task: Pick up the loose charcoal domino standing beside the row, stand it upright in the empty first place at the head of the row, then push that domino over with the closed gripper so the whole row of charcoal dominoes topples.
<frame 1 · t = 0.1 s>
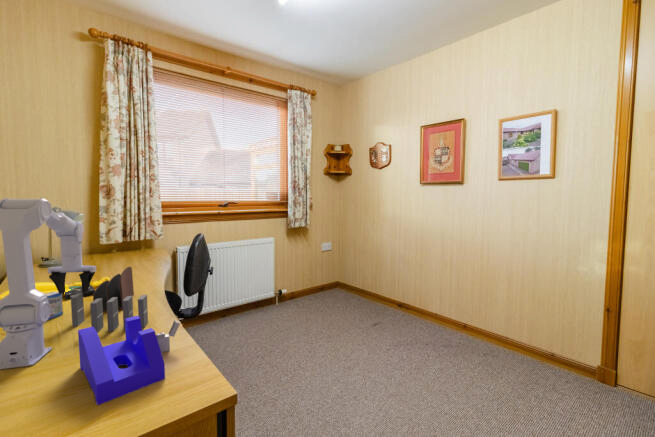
hand: (73, 292, 112), 10 cm above the table, tool pointing down, fingers open, 7 cm apart
bracket: (121, 375, 80), on the table
end domino: (143, 325, 108), on the table
medicine box: (47, 318, 114), on the table
domino 4: (128, 326, 107), on the table
domino 2: (97, 330, 104), on the table
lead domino: (78, 323, 110), on the table
domino 3: (113, 328, 106), on the table
letter holder: (115, 304, 130), on the table
lighter: (167, 350, 92), on the table
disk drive: (79, 295, 142), on the table
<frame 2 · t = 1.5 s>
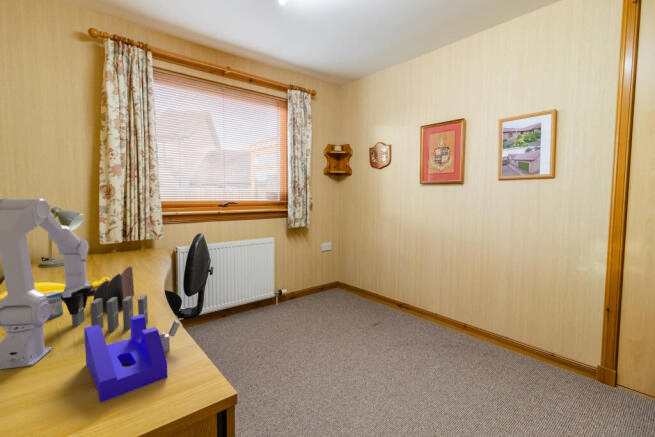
hand: (77, 311, 109), 4 cm above the table, tool pointing down, fingers closed on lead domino, 5 cm apart
bracket: (125, 372, 81), on the table
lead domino: (78, 323, 110), on the table, touching gripper
everything else where it was.
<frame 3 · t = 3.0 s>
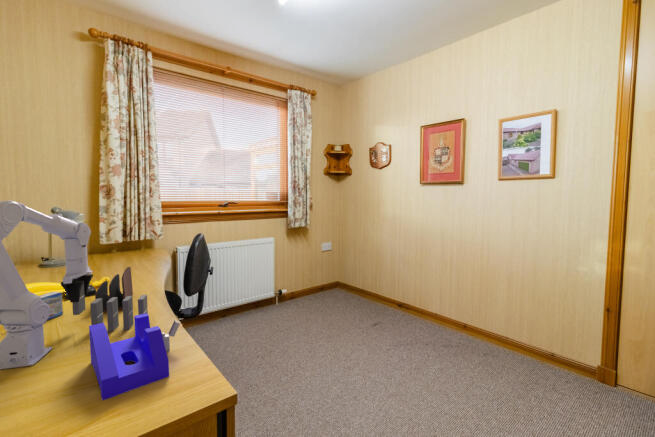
hand: (78, 299, 104), 10 cm above the table, tool pointing down, fingers closed on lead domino, 5 cm apart
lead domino: (79, 312, 104), point 6 cm above the table, touching gripper
when the fingers open (6 cm above the table, at t = 4.6 s): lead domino drops 1 cm, on the table.
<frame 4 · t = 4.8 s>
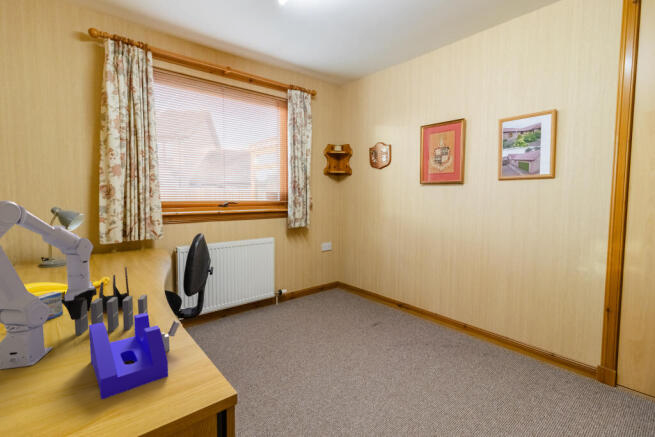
hand: (80, 315, 103), 6 cm above the table, tool pointing down, fingers open, 6 cm apart
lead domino: (82, 331, 103), on the table
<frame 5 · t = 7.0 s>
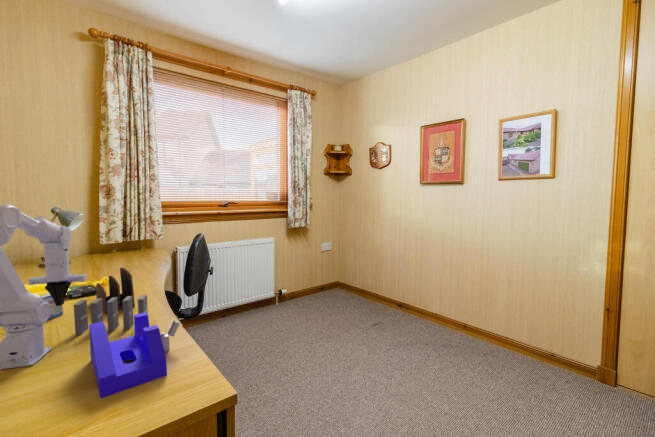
hand: (59, 304, 101), 10 cm above the table, tool pointing down, fingers closed
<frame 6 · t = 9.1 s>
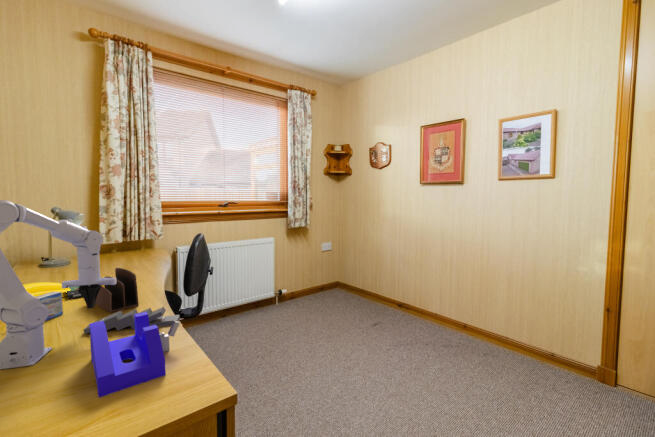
hand: (91, 307, 103), 8 cm above the table, tool pointing down, fingers closed
bracket: (127, 369, 83), on the table, touching lighter
end domino: (147, 323, 109), point 1 cm above the table, tilted 89°, touching domino 4
domino 4: (133, 324, 107), point 1 cm above the table, tilted 69°, touching domino 3, end domino
domino 2: (103, 327, 105), point 1 cm above the table, tilted 68°, touching domino 3, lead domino
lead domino: (87, 329, 104), point 1 cm above the table, tilted 69°, touching domino 2
domino 3: (119, 325, 106), point 1 cm above the table, tilted 68°, touching domino 2, domino 4
lighter: (166, 350, 92), on the table, touching bracket
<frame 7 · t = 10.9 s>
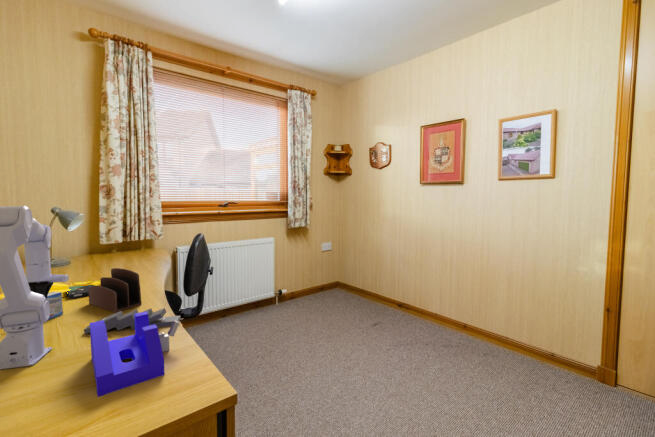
hand: (41, 305, 99), 10 cm above the table, tool pointing down, fingers closed
bracket: (126, 368, 83), on the table
end domino: (147, 323, 109), point 1 cm above the table, tilted 90°
domino 4: (134, 324, 107), point 1 cm above the table, tilted 70°, touching domino 3
domino 2: (104, 327, 105), point 1 cm above the table, tilted 68°, touching domino 3, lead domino
lighter: (166, 350, 92), on the table
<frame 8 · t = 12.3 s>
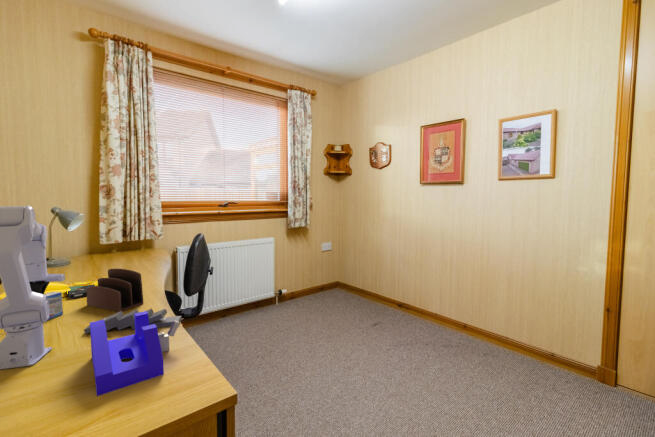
hand: (37, 304, 98), 10 cm above the table, tool pointing down, fingers closed
end domino: (148, 323, 108), point 1 cm above the table, tilted 89°, touching domino 4
domino 4: (134, 324, 107), point 1 cm above the table, tilted 71°, touching domino 3, end domino
domino 2: (105, 327, 105), point 1 cm above the table, tilted 68°, touching domino 3
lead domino: (88, 328, 104), point 1 cm above the table, tilted 69°
domino 3: (120, 325, 106), point 1 cm above the table, tilted 68°, touching domino 2, domino 4
at the end: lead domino inside the target area (1.4 cm from its centre), point 0.7 cm above the table; end domino tilted 90°; the gripper is holding nothing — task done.
